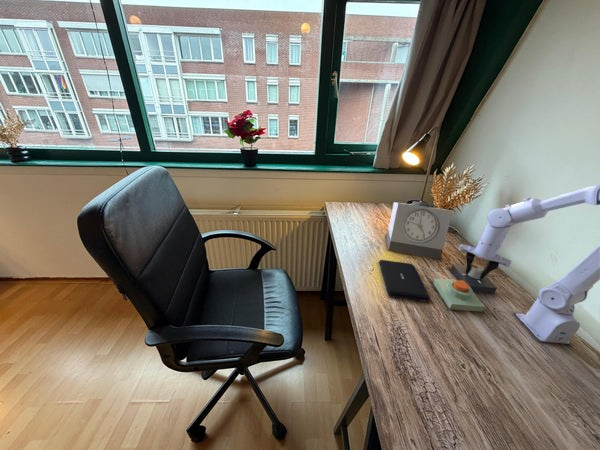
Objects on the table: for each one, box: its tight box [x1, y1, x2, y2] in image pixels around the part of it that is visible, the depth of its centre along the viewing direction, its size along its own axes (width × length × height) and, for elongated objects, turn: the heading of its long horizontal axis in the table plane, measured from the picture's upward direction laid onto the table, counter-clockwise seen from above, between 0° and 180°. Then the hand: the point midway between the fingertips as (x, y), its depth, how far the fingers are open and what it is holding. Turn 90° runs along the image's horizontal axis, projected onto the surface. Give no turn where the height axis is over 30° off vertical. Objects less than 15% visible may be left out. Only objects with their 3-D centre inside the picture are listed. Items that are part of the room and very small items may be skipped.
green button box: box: [432, 277, 486, 313], centre depth 80 cm, size 12×10×4 cm
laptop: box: [378, 259, 431, 302], centre depth 86 cm, size 16×20×2 cm
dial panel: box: [450, 264, 498, 294], centre depth 88 cm, size 12×9×3 cm
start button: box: [453, 279, 469, 292], centre depth 79 cm, size 4×4×2 cm
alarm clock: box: [385, 200, 454, 260], centre depth 104 cm, size 20×16×20 cm
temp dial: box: [467, 263, 485, 279], centre depth 87 cm, size 4×4×4 cm
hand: (474, 274), depth 87 cm, fingers closed on temp dial, 4 cm apart
